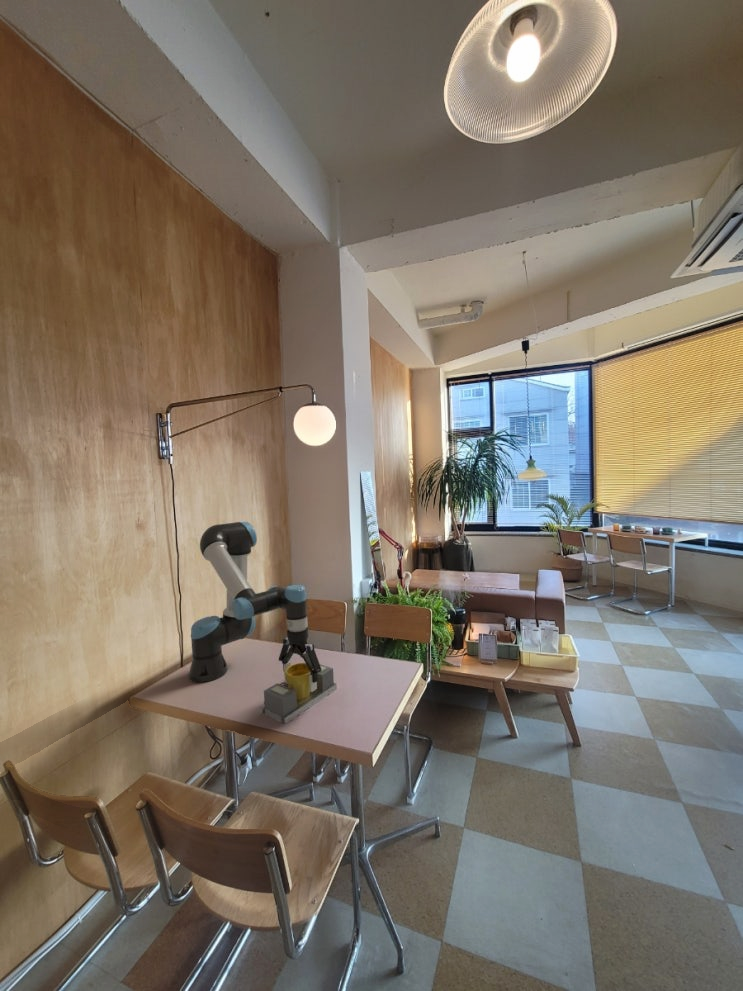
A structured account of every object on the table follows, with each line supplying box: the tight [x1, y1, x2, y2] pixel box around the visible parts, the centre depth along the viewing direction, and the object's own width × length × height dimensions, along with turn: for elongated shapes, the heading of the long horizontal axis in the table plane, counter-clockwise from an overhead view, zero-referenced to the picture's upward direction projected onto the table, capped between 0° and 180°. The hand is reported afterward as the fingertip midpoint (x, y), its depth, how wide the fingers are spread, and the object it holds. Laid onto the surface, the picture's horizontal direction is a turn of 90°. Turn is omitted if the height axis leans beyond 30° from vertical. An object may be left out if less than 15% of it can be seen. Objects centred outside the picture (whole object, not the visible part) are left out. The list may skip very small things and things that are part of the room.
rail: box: [261, 682, 338, 725], centre depth 144 cm, size 12×26×2 cm, turn 144°
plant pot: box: [285, 662, 311, 700], centre depth 144 cm, size 10×10×10 cm
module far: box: [317, 663, 335, 690], centre depth 152 cm, size 10×6×6 cm, turn 54°
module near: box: [263, 683, 297, 716], centre depth 136 cm, size 10×6×6 cm, turn 54°
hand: (300, 685), depth 144 cm, fingers open, 13 cm apart
